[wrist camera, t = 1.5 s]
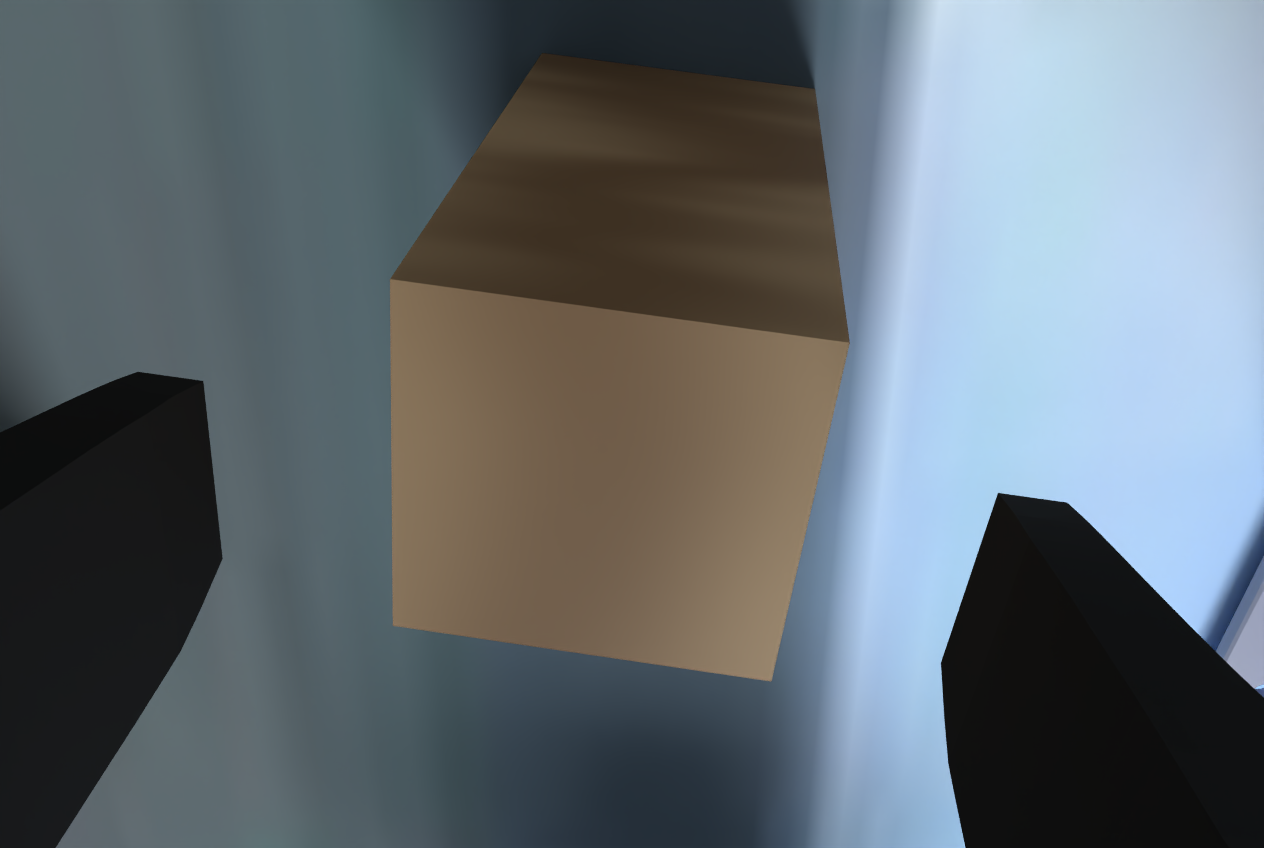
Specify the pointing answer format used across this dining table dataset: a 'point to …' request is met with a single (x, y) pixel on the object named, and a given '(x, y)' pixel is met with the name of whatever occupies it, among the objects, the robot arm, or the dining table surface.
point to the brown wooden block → (619, 371)
